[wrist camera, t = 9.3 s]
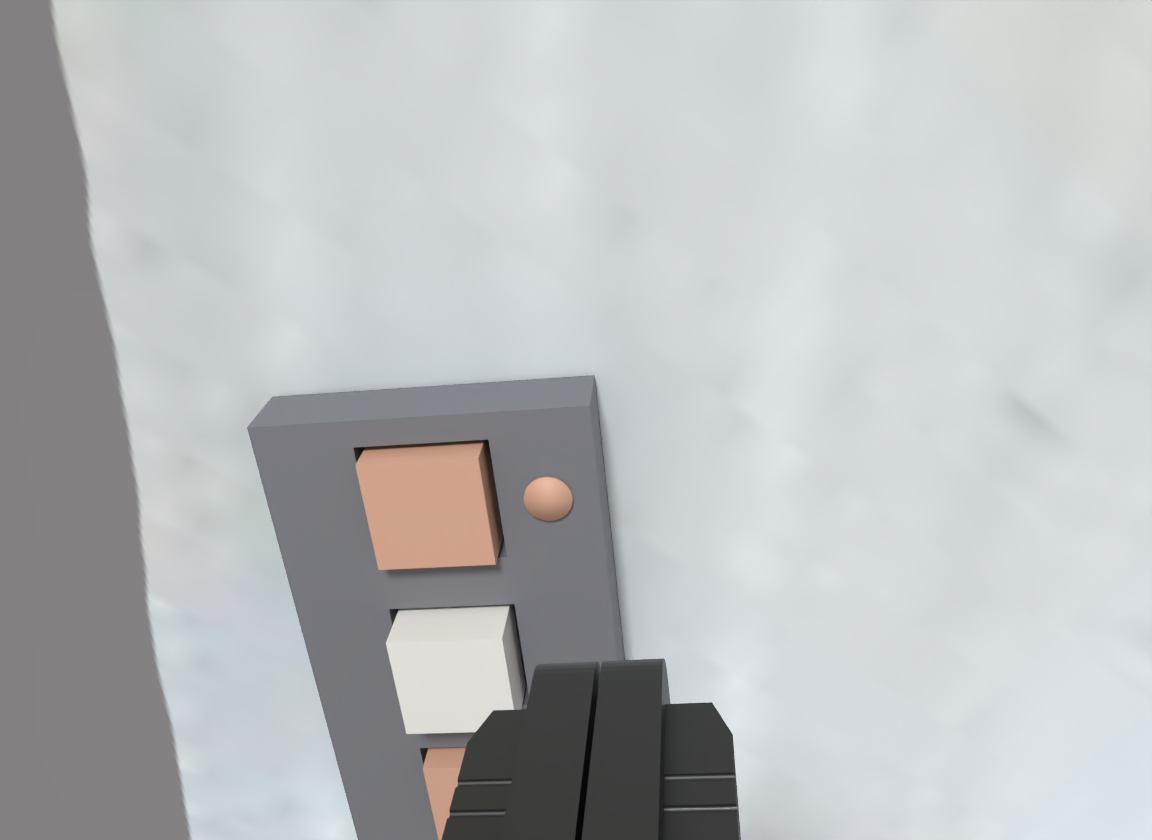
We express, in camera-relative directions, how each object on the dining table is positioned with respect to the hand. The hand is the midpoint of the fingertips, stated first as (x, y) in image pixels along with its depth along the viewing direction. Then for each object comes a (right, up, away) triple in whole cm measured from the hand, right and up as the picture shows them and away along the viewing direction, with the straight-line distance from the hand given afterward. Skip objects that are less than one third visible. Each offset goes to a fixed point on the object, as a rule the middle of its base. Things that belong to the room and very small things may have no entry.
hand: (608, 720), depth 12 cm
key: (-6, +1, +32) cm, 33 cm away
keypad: (-5, -6, +37) cm, 37 cm away
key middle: (-5, -7, +35) cm, 36 cm away
